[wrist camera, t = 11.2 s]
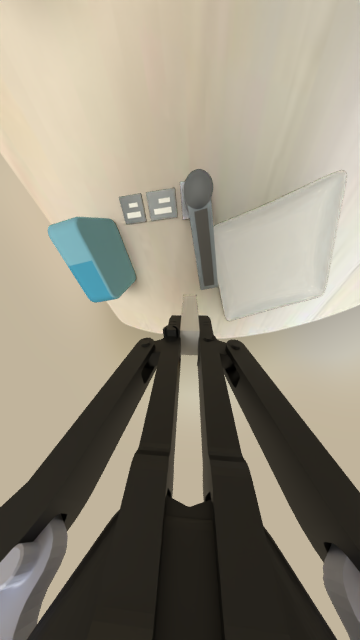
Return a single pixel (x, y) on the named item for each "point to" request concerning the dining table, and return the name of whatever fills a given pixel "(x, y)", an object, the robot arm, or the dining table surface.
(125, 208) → the label plate
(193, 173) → the swing arm
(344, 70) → the dining table surface
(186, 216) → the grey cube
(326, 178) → the salad plate
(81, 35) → the dining table surface
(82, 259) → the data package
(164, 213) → the label plate
